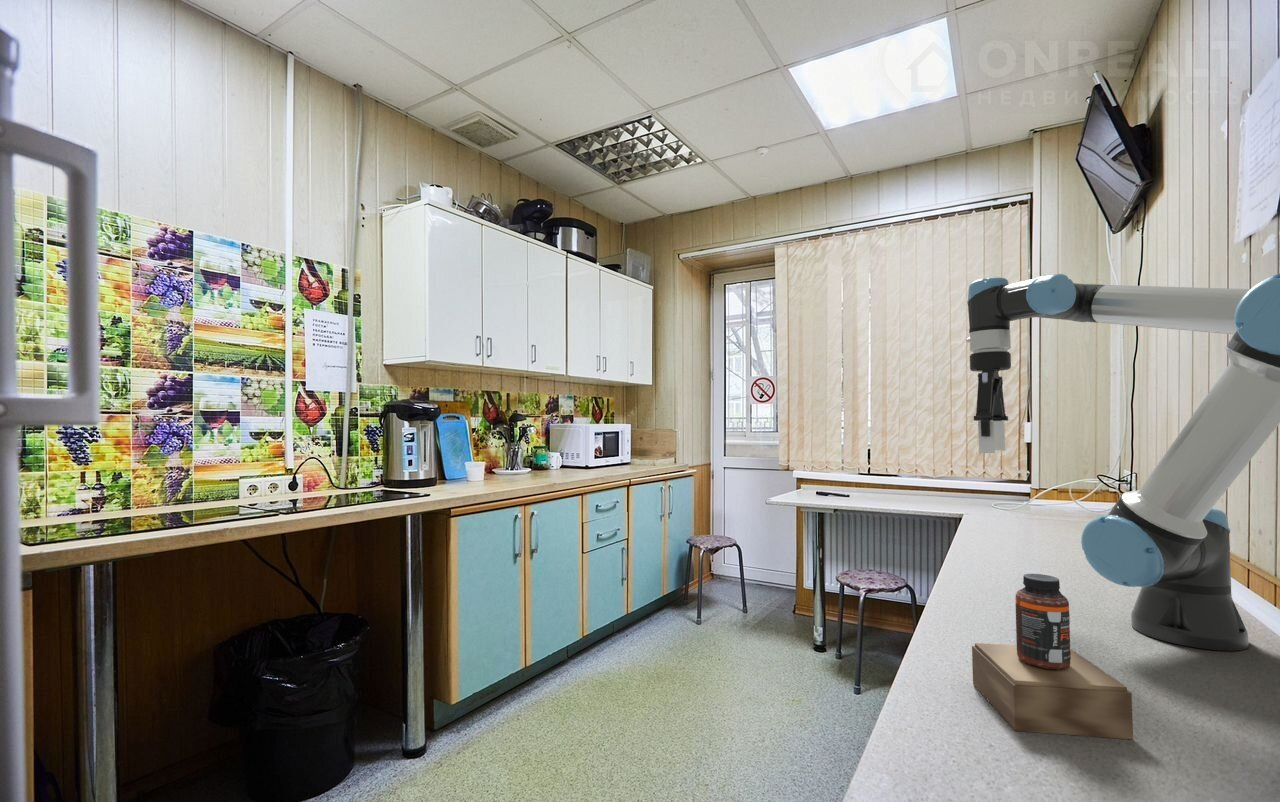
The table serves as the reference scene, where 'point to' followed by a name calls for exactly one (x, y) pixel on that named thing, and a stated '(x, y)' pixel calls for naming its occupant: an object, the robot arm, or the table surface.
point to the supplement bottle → (1043, 623)
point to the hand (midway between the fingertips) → (992, 451)
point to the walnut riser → (1052, 694)
